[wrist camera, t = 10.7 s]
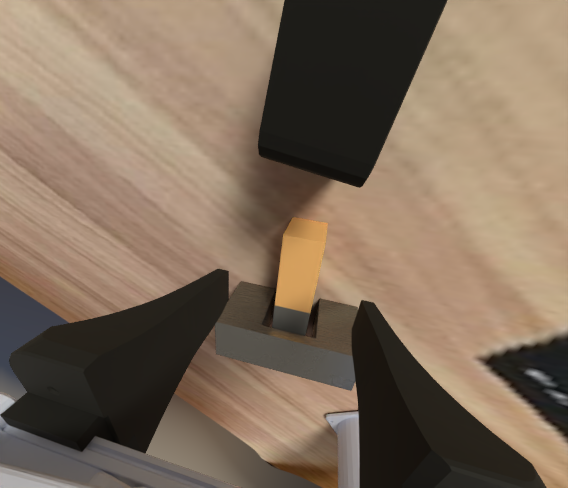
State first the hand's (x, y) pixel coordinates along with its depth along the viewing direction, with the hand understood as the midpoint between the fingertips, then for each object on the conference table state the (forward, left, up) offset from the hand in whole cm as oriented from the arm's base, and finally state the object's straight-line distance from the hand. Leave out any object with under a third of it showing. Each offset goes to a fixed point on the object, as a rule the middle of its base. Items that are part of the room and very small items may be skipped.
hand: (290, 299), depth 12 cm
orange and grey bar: (-4, +3, -9) cm, 10 cm away
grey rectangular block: (-7, +5, -9) cm, 12 cm away
